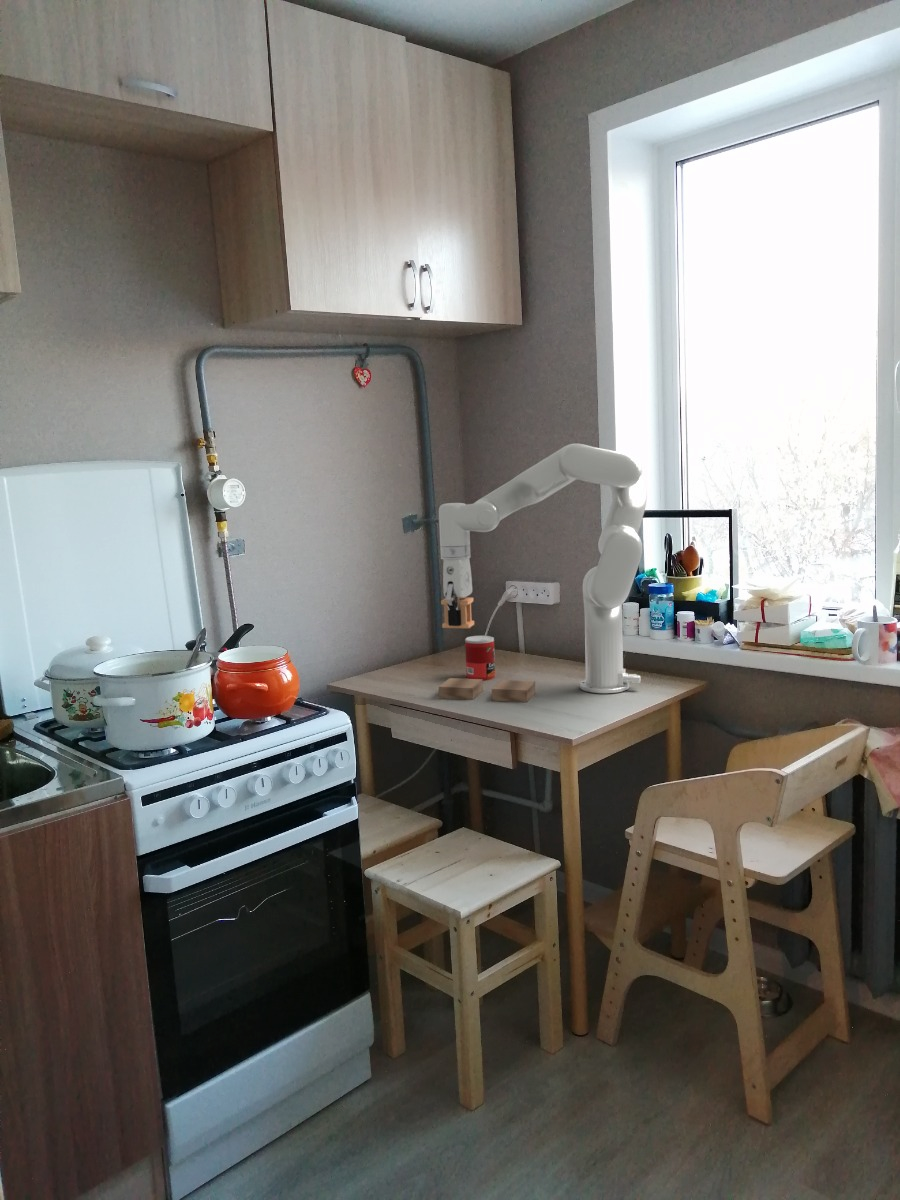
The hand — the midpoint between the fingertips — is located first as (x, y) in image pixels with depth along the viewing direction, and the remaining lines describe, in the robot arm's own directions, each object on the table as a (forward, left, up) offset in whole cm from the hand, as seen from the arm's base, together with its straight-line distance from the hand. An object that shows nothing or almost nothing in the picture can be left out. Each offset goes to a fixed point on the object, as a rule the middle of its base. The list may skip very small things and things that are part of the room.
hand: (458, 622), depth 241 cm
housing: (0, 0, -1) cm, 1 cm away
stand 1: (0, 0, -19) cm, 19 cm away
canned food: (0, -18, -19) cm, 26 cm away
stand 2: (-14, 0, -19) cm, 23 cm away
